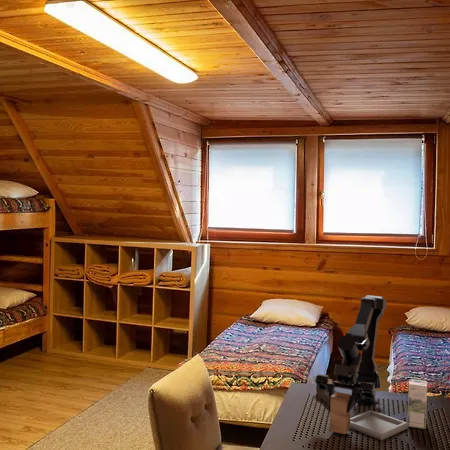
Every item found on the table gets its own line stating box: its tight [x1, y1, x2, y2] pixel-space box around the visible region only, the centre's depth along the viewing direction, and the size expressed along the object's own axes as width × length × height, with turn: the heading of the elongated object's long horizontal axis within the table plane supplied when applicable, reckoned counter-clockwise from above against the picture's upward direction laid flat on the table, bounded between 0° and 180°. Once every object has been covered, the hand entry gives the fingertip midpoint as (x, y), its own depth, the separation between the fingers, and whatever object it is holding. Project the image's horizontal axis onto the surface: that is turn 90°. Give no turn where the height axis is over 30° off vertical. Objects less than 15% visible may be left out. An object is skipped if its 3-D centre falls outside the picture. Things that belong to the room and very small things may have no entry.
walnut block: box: [329, 391, 352, 435], centre depth 180 cm, size 5×5×11 cm
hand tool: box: [315, 384, 330, 407], centre depth 208 cm, size 19×4×5 cm, turn 11°
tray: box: [350, 409, 408, 441], centre depth 186 cm, size 14×14×2 cm
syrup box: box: [407, 378, 428, 430], centre depth 188 cm, size 6×6×14 cm
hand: (339, 410), depth 179 cm, fingers closed on walnut block, 5 cm apart
